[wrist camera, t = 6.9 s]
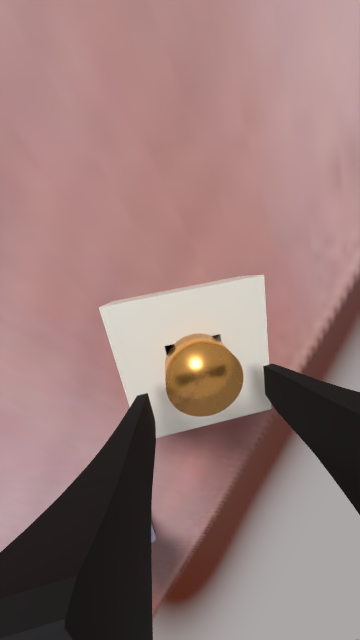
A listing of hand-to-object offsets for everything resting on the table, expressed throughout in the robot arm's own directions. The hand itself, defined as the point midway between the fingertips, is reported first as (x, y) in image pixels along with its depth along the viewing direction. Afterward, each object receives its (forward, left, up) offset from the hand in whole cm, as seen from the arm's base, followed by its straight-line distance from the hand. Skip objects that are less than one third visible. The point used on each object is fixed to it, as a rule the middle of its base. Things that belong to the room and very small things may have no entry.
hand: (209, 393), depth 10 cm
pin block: (0, 0, -7) cm, 7 cm away
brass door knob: (0, 0, -7) cm, 7 cm away
